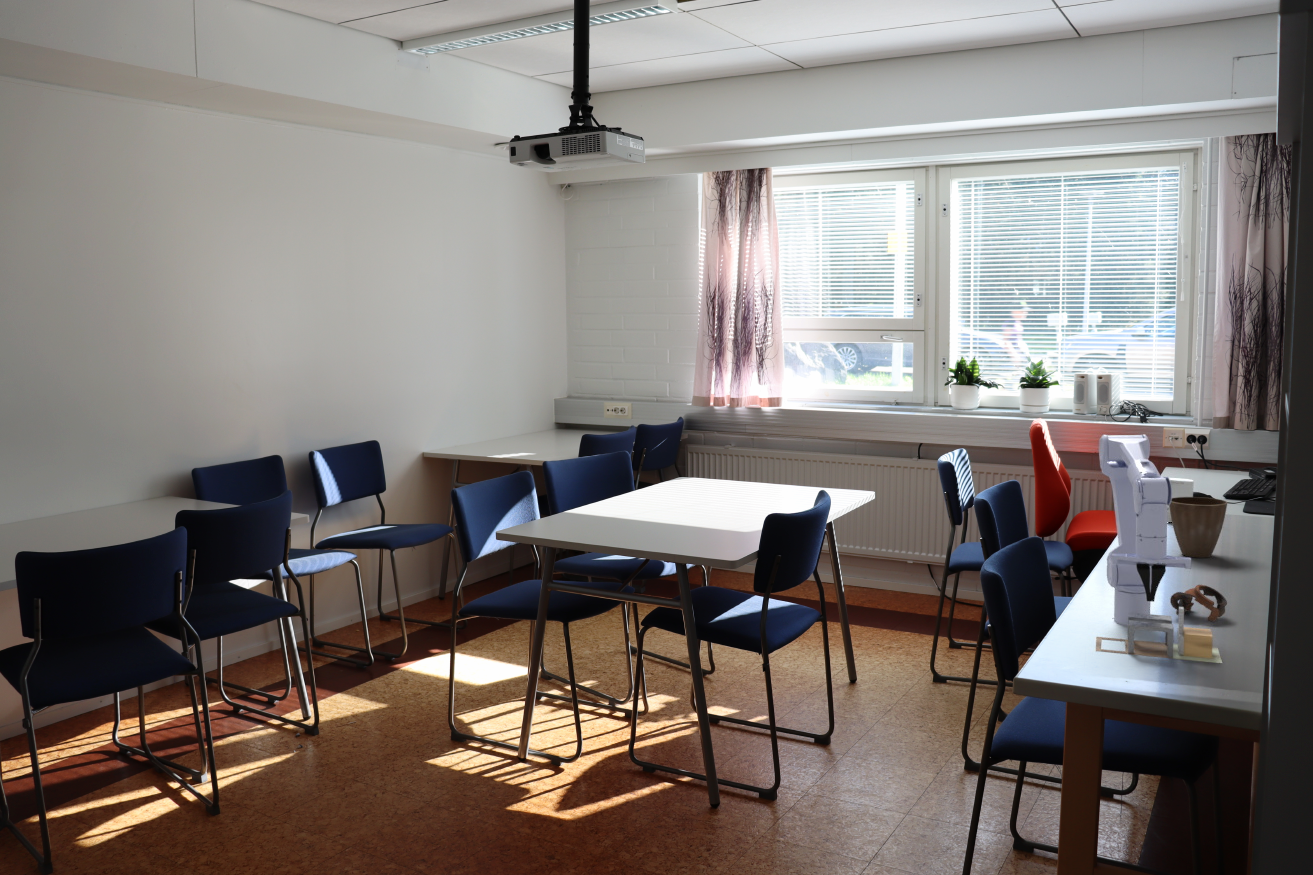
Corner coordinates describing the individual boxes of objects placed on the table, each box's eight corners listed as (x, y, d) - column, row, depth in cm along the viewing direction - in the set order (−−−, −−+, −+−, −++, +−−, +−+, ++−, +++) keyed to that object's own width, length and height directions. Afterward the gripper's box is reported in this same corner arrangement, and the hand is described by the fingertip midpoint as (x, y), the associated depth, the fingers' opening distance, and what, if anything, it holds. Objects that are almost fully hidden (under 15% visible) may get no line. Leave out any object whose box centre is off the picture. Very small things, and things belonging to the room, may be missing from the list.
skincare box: (1164, 523, 332) (1165, 479, 331) (1164, 520, 338) (1165, 477, 336) (1192, 524, 328) (1193, 480, 327) (1192, 521, 334) (1193, 478, 332)
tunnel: (1127, 639, 207) (1128, 612, 207) (1170, 643, 204) (1171, 615, 203) (1128, 653, 199) (1128, 624, 198) (1173, 657, 195) (1173, 628, 195)
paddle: (1177, 645, 202) (1178, 603, 201) (1181, 645, 201) (1182, 604, 201) (1179, 654, 196) (1180, 611, 195) (1183, 654, 196) (1184, 611, 195)
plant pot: (1158, 550, 294) (1159, 497, 292) (1209, 548, 293) (1210, 495, 292) (1182, 561, 279) (1183, 505, 277) (1236, 560, 278) (1238, 504, 277)
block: (1181, 647, 201) (1182, 626, 201) (1209, 650, 199) (1210, 629, 198) (1183, 655, 196) (1183, 633, 196) (1212, 658, 194) (1212, 636, 194)
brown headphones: (1196, 610, 234) (1216, 584, 230) (1219, 638, 226) (1239, 611, 222) (1153, 601, 231) (1172, 575, 227) (1174, 629, 223) (1195, 602, 219)
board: (1096, 643, 210) (1096, 636, 210) (1217, 654, 201) (1217, 647, 200) (1095, 657, 201) (1095, 650, 201) (1222, 670, 192) (1222, 662, 191)
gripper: (1112, 536, 203) (1111, 601, 204) (1192, 540, 197) (1191, 607, 198) (1112, 531, 209) (1111, 594, 210) (1190, 534, 203) (1189, 599, 204)
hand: (1150, 600), depth 204 cm, fingers closed
